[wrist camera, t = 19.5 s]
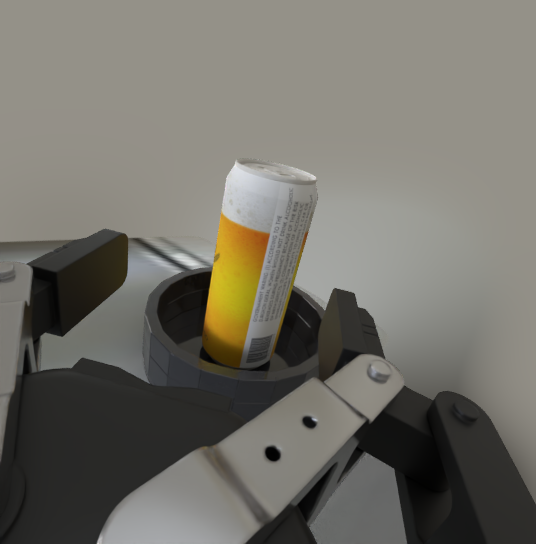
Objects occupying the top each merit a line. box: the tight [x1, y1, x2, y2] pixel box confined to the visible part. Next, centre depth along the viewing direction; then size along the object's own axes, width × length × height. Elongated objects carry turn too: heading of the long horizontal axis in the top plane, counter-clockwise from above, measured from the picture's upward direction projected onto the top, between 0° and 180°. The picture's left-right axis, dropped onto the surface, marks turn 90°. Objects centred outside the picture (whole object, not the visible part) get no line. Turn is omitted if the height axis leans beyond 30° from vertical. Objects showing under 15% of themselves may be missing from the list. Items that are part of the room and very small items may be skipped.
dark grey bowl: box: [143, 267, 325, 422], centre depth 27 cm, size 15×15×4 cm
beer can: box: [202, 158, 318, 371], centre depth 24 cm, size 6×6×15 cm
